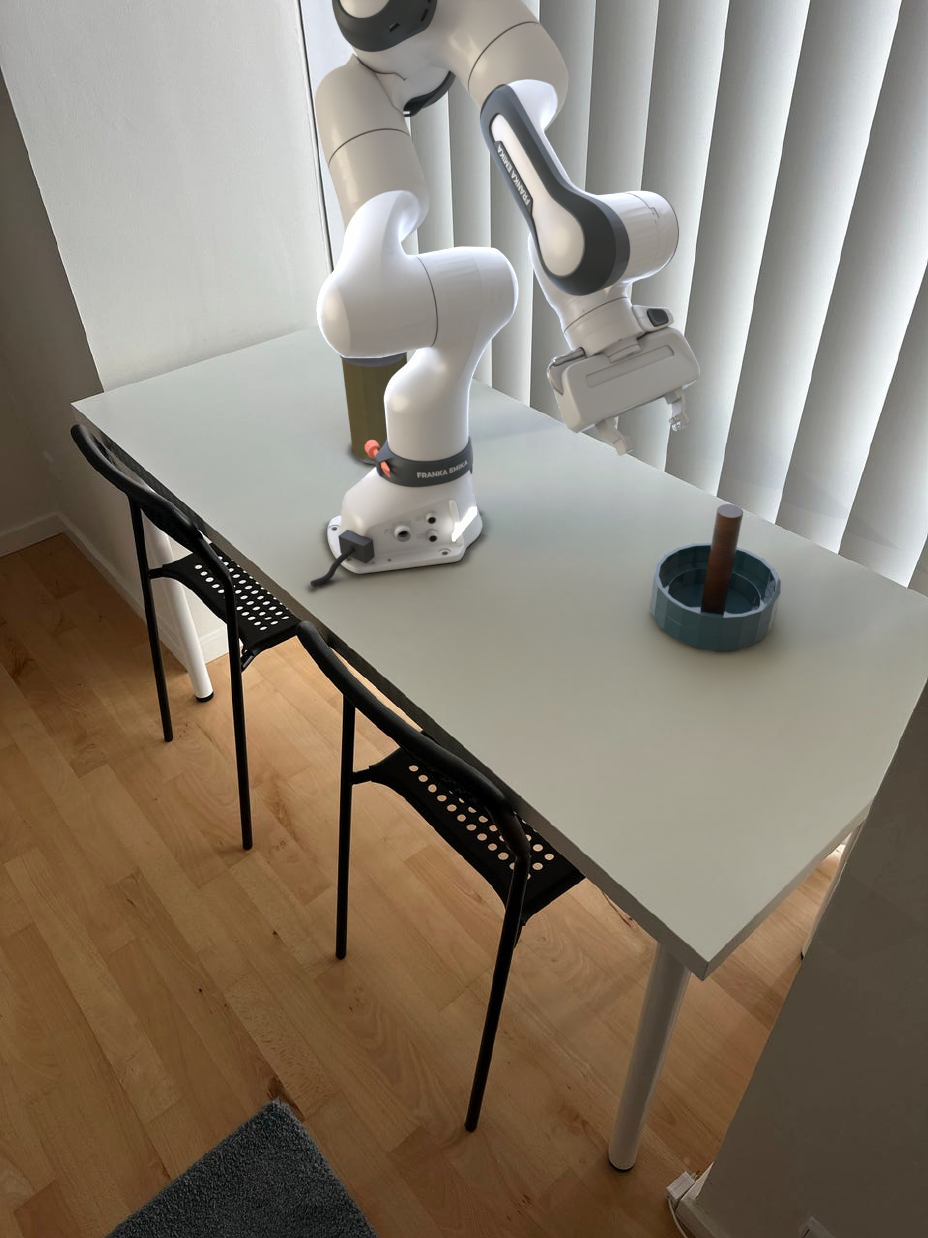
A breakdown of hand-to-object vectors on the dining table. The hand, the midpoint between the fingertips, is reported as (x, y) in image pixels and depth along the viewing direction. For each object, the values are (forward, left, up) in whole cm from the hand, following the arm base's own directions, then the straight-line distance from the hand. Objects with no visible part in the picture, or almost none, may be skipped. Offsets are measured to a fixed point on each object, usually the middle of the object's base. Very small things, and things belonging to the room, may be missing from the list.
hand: (655, 440), depth 116 cm
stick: (+4, -12, -19) cm, 23 cm away
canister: (-23, +46, -20) cm, 55 cm away
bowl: (+3, -12, -20) cm, 23 cm away
